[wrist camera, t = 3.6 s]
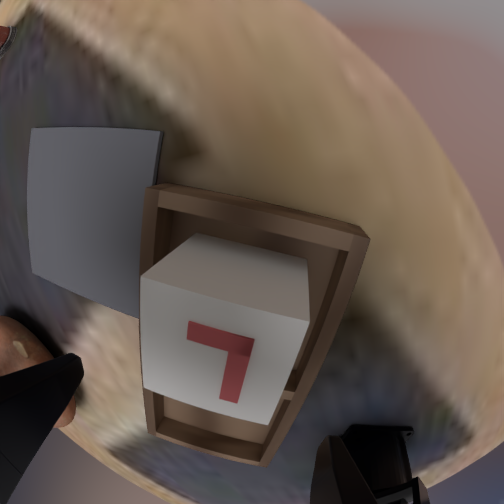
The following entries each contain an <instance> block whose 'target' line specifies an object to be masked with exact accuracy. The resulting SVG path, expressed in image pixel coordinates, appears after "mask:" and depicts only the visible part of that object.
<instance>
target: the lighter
mask: <svg viewBox="0 0 504 504" xmlns="http://www.w3.org/2000/svg"><path fill="white" fill-rule="evenodd" d="M16 33H17V28H16V27H12V26H8V27H3V26H0V59H1V58H2V56H3V55H4V54H5V53H6V51H7V50H8V49H9V47H10V46H11V45H12V43H13V41H14V39H15V37H16Z"/></svg>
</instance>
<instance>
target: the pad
mask: <svg viewBox="0 0 504 504" xmlns="http://www.w3.org/2000/svg"><path fill="white" fill-rule="evenodd" d="M162 137H163V132H162V131H152V130H140V129H124V128H100V127H52V128H32V130H31V138H30V148H29V160H28V179H27V215H28V235H29V247H30V257H31V266H32V273H34V274H36V275H38V276H40V277H42V278H44V279H46V280H48V281H50V282H52V283H54V284H57V285H59V286H61V287H63V288H65V289H67V290H70V291H72V292H74V293H76V294H78V295H81V296H83V297H85V298H88V299H90V300H92V301H95V302H97V303H100V304H102V305H104V306H107V307H109V308H112V309H114V310H117V311H120V312H122V313H125V314H127V315H130V316H133V317H135V318H138V319H139V264H140V243H141V228H142V216H143V205H144V195H145V188H146V187H150V186H154V185H155V184H156V176H157V169H158V162H159V156H160V149H161V143H162Z"/></svg>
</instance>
